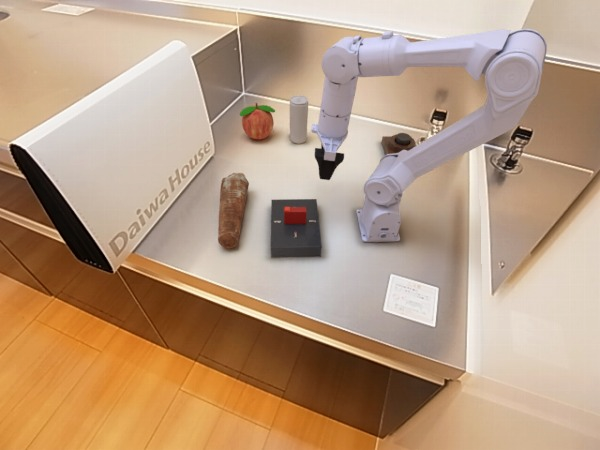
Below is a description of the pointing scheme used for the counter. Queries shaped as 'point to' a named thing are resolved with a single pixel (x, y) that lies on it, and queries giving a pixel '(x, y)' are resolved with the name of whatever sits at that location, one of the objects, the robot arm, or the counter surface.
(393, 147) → the button block
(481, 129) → the robot arm
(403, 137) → the button
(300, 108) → the beverage can
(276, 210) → the panel
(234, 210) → the bread
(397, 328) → the counter surface
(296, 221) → the toaster knob
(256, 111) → the fruit
